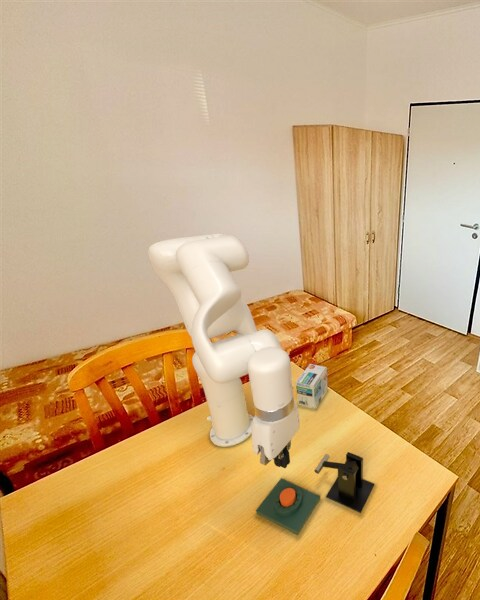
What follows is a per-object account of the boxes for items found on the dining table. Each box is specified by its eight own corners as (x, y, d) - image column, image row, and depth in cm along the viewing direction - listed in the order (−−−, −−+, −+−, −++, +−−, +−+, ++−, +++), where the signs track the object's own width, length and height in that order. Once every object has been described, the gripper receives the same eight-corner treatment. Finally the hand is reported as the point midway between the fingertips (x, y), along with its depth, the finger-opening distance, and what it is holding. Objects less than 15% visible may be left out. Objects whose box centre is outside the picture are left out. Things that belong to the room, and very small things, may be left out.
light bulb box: (315, 410, 108) (314, 386, 103) (297, 406, 109) (294, 382, 104) (328, 389, 117) (327, 366, 113) (311, 386, 118) (309, 363, 114)
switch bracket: (326, 499, 81) (324, 468, 76) (342, 472, 88) (341, 443, 83) (360, 515, 78) (361, 484, 73) (374, 486, 85) (375, 456, 80)
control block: (256, 515, 77) (254, 505, 75) (281, 483, 84) (280, 473, 83) (298, 537, 73) (296, 527, 71) (320, 501, 81) (319, 491, 79)
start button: (277, 503, 76) (276, 498, 75) (287, 490, 79) (286, 485, 78) (289, 509, 75) (288, 504, 74) (299, 495, 78) (298, 491, 77)
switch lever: (316, 474, 81) (312, 467, 81) (326, 459, 85) (323, 452, 85) (351, 480, 76) (348, 473, 76) (361, 463, 81) (358, 456, 80)
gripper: (284, 377, 72) (290, 433, 80) (230, 424, 59) (244, 485, 68) (311, 387, 70) (315, 444, 78) (262, 438, 57) (272, 500, 65)
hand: (282, 463), depth 73 cm, fingers closed
